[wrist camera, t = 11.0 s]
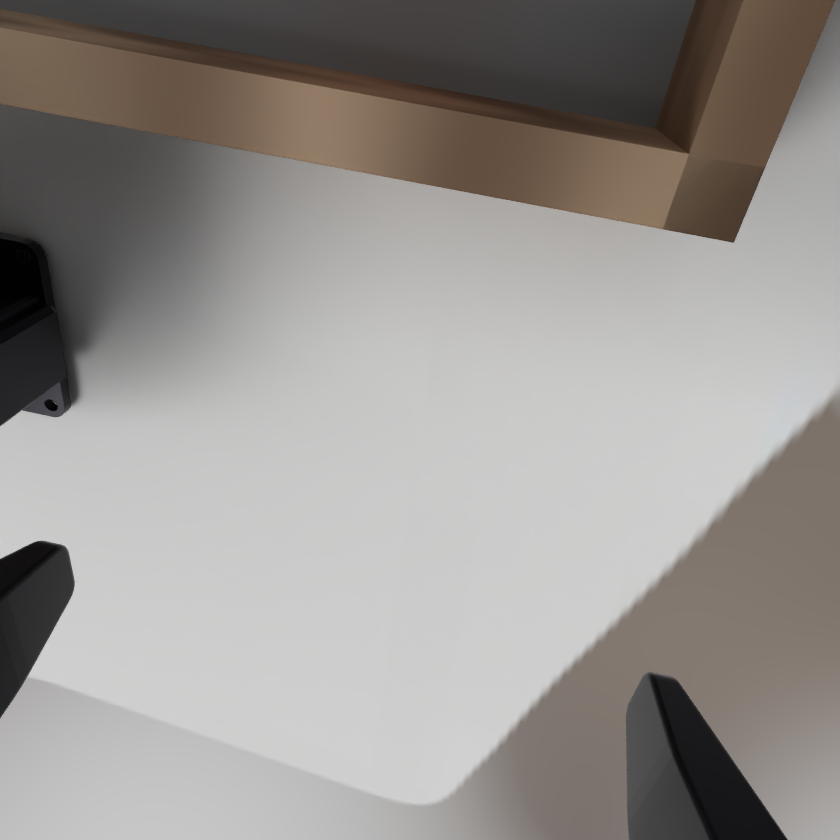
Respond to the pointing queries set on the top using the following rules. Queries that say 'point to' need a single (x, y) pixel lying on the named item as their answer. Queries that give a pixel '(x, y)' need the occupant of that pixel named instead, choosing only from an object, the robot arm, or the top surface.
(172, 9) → the mat
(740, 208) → the corner walls
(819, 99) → the top surface
